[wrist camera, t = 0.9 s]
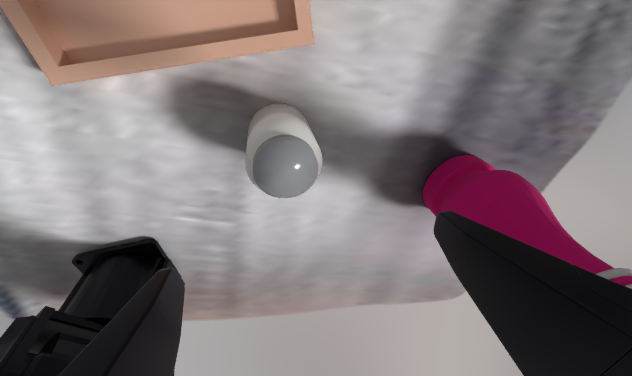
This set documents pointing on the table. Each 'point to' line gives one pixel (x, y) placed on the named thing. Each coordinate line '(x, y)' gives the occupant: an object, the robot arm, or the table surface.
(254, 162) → the cylinder
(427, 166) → the table surface
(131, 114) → the table surface
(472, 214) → the pepper mill
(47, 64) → the tray
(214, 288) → the table surface
